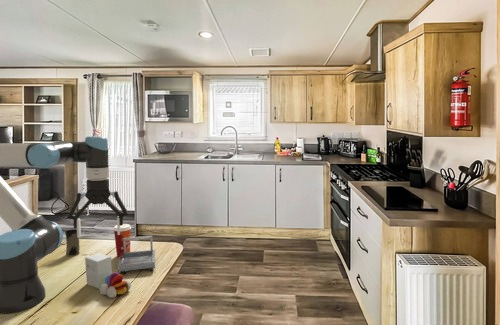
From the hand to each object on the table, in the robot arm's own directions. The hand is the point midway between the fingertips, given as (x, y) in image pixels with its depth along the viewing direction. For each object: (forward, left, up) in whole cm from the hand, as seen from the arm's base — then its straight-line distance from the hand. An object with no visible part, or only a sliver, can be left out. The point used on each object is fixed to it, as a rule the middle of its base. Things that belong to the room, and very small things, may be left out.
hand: (99, 235), depth 126 cm
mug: (-19, +34, -19) cm, 43 cm away
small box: (-1, -1, -19) cm, 19 cm away
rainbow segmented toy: (+6, -9, -19) cm, 22 cm away
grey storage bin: (+12, +12, -19) cm, 25 cm away
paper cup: (+5, +26, -19) cm, 33 cm away
